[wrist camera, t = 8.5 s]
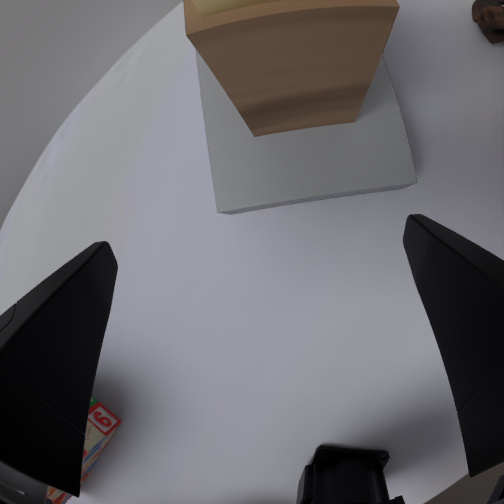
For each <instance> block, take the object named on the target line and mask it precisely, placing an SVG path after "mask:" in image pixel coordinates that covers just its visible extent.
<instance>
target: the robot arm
mask: <svg viewBox="0 0 504 504" xmlns="http://www.w3.org/2000/svg"><path fill="white" fill-rule="evenodd" d="M403 245H404V248H405V252H406V255H407V258H408V261H409V264H410V267H411V271H412V274H413V278H414V281H415V284H416V287H417V290H418V292H419V295H420V297H421V300H422V303H423V305H424V308H425V310H426V313H427V316H428V318H429V321H430V324H431V327H432V330H433V332H434V335H435V338H436V341H437V344H438V347H439V350H440V353H441V356H442V360H443V363H444V366H445V369H446V373H447V376H448V380H449V383H450V387H451V390H452V394H453V398H454V402H455V406H456V410H457V412H458V413H457V415H458V419H459V423H460V428H461V432H462V437H463V442H464V447H465V452H466V458H467V464H468V470H469V475H470V477H473V476H476V475H478V474H480V473H482V472H484V471H486V470H488V469H490V468H492V467H494V466H496V465H498V464H500V463H502V462H504V261H503V260H502V259H500V258H499V257H497V256H495V255H494V254H492V253H490V252H489V251H487V250H485V249H484V248H482V247H480V246H479V245H477V244H475V243H473V242H472V241H470V240H468V239H466V238H465V237H463V236H461V235H459V234H458V233H456V232H454V231H452V230H450V229H448V228H447V227H445V226H443V225H441V224H439V223H437V222H435V221H433V220H431V219H430V218H428V217H426V216H424V215H422V214H411V215H409V216H408V217H407V220H406V225H405V231H404V236H403ZM117 271H118V264H117V261H116V258H115V256H114V254H113V251H112V249H111V247H110V244H109V243H108V242H106V241H101V242H95V243H93V244H92V245H91V246H89V247H88V248H86V249H85V250H84V251H82V252H81V253H79V254H78V255H77V256H75V257H74V258H73V259H71V260H70V261H69V262H67V263H66V264H64V265H63V266H62V267H60V268H59V269H58V270H57V271H55V272H54V273H53V274H51V275H50V276H49V277H47V278H46V279H45V280H44V281H42V282H41V283H40V284H38V285H37V286H36V287H35V288H33V289H32V290H31V291H30V292H28V293H27V294H26V295H25V296H23V297H22V298H21V299H20V300H19V301H17V304H16V303H15V304H14V305H13V306H11V307H10V308H9V309H8V310H7V311H5V312H4V313H3V314H2V315H1V316H0V504H53V502H52V500H51V499H49V498H46V496H47V491H48V487H51V488H53V489H56V490H58V491H61V492H64V493H67V494H70V495H73V496H75V497H79V495H80V485H81V472H82V461H83V452H84V444H85V436H86V435H85V434H86V428H87V421H88V414H89V408H90V402H91V396H92V391H93V385H94V380H95V375H96V370H97V365H98V361H99V356H100V352H101V347H102V343H103V339H104V335H105V330H106V326H107V322H108V319H109V314H110V310H111V305H112V299H113V293H114V287H115V281H116V276H117ZM320 451H324V452H322V453H321V452H320ZM383 456H385V457H383ZM389 457H390V456H389V452H387V451H374V450H358V449H345V448H335V447H326V446H320V447H318V448H317V449H316V451H315V453H314V456H313V459H312V461H311V464H310V465H307V466H305V468H304V471H303V473H302V476H301V478H300V481H299V485H298V494H297V503H296V504H405V502H404V500H403V497H402V495H401V496H398V497H395V499H391V500H390V499H389V494H388V489H387V485H386V480H385V476H384V472H383V469H384V467H385V465H386V463H387V461H388V460H389ZM487 504H504V475H502V476H500V478H499V480H498V482H497V485H496V487H495V489H494V491H493V493H492V495H491V497H490V499H489V501H488V503H487Z"/></svg>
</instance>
